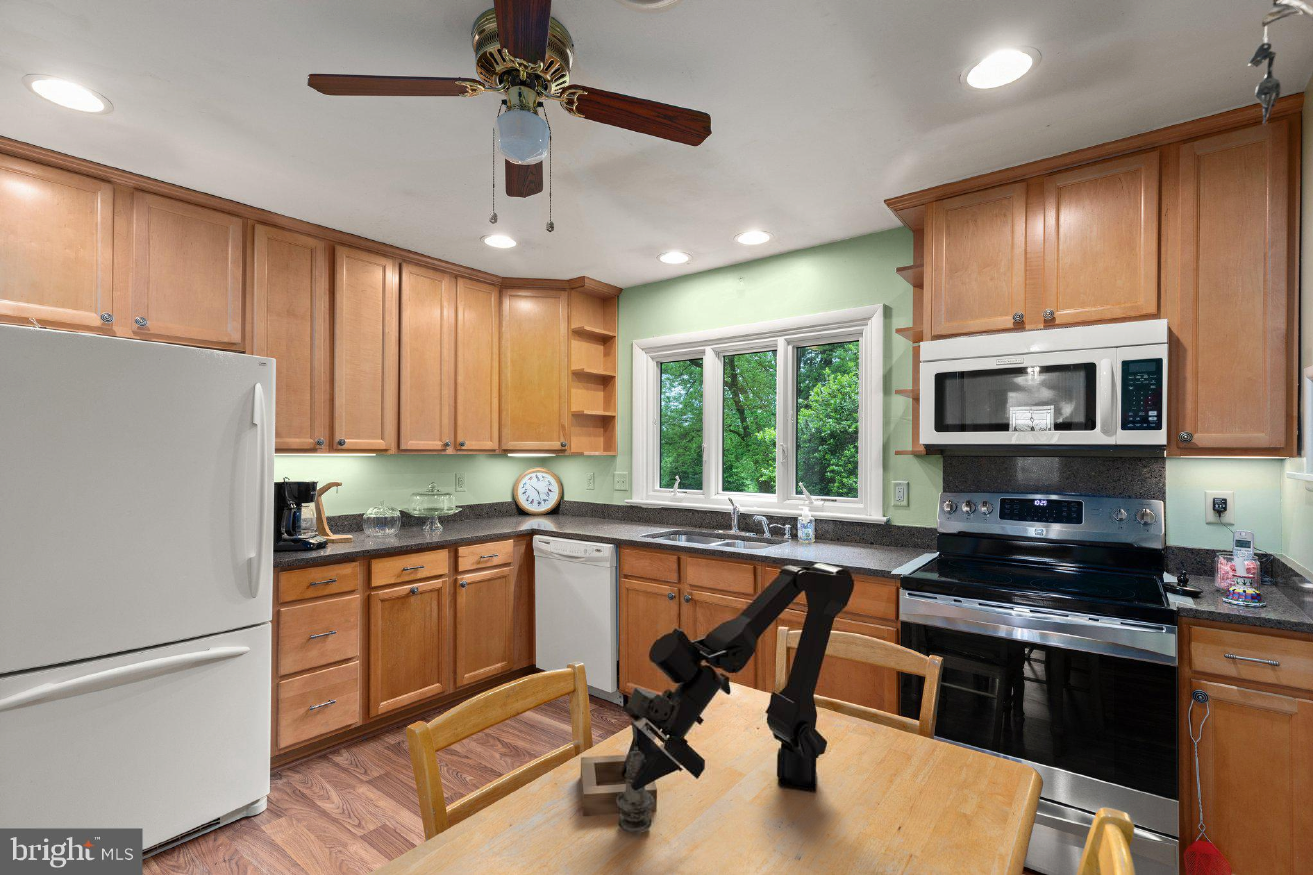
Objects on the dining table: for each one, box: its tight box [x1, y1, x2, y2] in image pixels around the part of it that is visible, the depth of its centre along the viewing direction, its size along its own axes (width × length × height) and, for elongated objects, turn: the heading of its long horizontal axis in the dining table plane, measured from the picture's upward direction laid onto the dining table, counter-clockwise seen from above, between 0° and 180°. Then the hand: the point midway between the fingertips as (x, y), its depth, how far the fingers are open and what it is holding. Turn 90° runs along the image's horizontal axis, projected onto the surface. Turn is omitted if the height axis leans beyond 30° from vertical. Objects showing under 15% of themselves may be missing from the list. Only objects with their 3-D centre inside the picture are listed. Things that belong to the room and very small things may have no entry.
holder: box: [580, 754, 658, 817], centre depth 108 cm, size 12×12×4 cm
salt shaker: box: [616, 746, 654, 834], centre depth 99 cm, size 6×6×12 cm
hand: (627, 782), depth 98 cm, fingers closed on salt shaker, 4 cm apart
